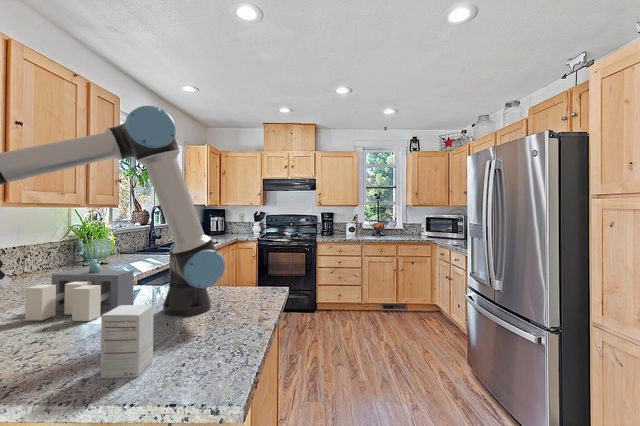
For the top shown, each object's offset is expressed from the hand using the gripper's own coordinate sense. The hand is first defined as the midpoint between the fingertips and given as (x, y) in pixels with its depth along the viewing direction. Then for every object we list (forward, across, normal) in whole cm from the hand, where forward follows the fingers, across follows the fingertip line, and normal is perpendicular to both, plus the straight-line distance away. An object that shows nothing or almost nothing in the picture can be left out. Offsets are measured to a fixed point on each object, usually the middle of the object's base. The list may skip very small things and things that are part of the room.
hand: (5, 284), depth 88 cm
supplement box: (-5, +45, -23) cm, 51 cm away
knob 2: (+20, +14, +2) cm, 24 cm away
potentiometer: (+18, +7, +17) cm, 26 cm away
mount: (+25, +7, +6) cm, 26 cm away
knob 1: (+20, 0, +2) cm, 20 cm away
